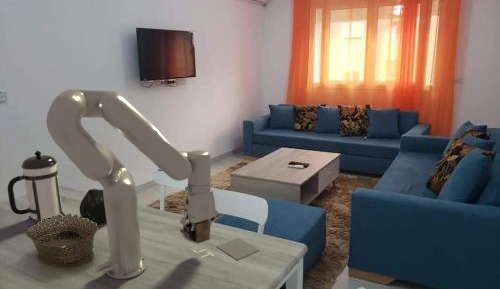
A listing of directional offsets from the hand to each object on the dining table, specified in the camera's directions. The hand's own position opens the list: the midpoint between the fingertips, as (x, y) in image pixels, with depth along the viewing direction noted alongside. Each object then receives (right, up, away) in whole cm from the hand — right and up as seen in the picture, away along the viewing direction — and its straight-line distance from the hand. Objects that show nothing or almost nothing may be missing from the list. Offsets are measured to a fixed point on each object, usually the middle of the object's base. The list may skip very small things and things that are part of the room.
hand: (199, 236), depth 127 cm
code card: (+1, -6, +2) cm, 6 cm away
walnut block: (0, -1, 0) cm, 1 cm away
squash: (-46, 0, +29) cm, 55 cm away
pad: (+13, -5, +4) cm, 15 cm away
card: (-3, -3, +17) cm, 18 cm away
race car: (-4, -3, +17) cm, 18 cm away
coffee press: (-71, 0, +30) cm, 77 cm away
